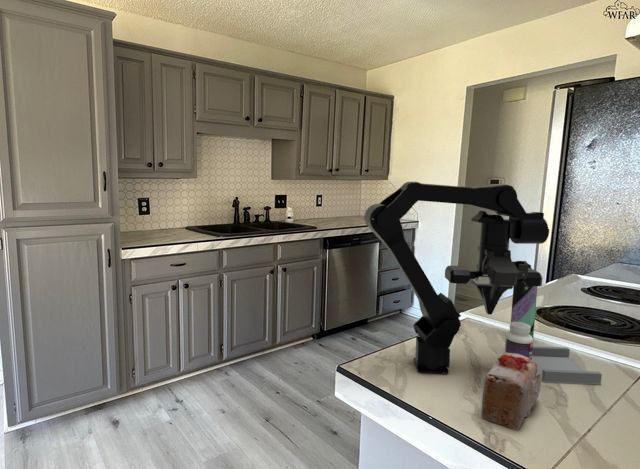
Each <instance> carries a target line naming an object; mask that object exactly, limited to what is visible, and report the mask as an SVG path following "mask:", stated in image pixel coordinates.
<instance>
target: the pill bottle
mask: <svg viewBox="0 0 640 469" xmlns="http://www.w3.org/2000/svg"><path fill="white" fill-rule="evenodd" d="M530 328H531V327H530V325H528V324H526V323H522V322H511V321H510V323H509V331H507V332H506V334H505V338H504V339H505V341H504V352H506V353H514V354H520V355H523V356H525V357H527V358H529V359H531V360H532V348H533V346H534V337H533V338H532V336H531V335H529V333H530ZM510 330H511V331H510Z"/></svg>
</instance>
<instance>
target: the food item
mask: <svg viewBox="0 0 640 469" xmlns="http://www.w3.org/2000/svg"><path fill="white" fill-rule="evenodd" d="M542 381H543V380H542V371H541V370H540V369H538V367H537V364H536V363H535V362H534V361H533V360H531V359H529V358H527V357H525V356H523V355H520V354H514V353H506V352H505V351H504V352H503V353H502V355H500V357H498V358H497V360H495V363H494V364H493V366H492V368H491V369H490V370H489V371H488V372H487V373H486V374H485V375H484V379H483V388H482V390H483V391H482V397H481V414H482V417H483V418H484V419H486V420H488V421H489V422H492V423H495V424H498V425H502V426H505V427H508V428H510V429H511V430H514V431H515V430H517V431H518V430H519V429H520V427H521V425H522V423H523V421H524V418H525V417H527V418H528V417H530V415H531V411H532V408H533V407H534V406H535V403H536V400H537V399H538V398H539V396H540V391H541V387H542Z"/></svg>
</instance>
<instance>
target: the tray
mask: <svg viewBox="0 0 640 469" xmlns="http://www.w3.org/2000/svg"><path fill="white" fill-rule="evenodd" d="M532 360H533V361H534V362H535V363H536V364H537V367H538V369H540V370H541V371H542V381H543V382H544V383H554V384H555V383H556V384H574V385H575V384H576V385H577V384H578V385H595V386H596V385H597V386H600V385H601V384H602V375H603V374H602V373H601V372H600V371H589V370H585V369H584V368H582V367H581V366H580V365H579V364H577V363H576V362H575V360H573V359H571V358H570V348H569V347H562V346H561V347H559V346H555V347H554V346H541V345H539V346H538V345H535V346H534V345H533V348H532Z"/></svg>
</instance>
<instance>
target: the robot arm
mask: <svg viewBox="0 0 640 469" xmlns="http://www.w3.org/2000/svg"><path fill="white" fill-rule="evenodd" d="M420 201H421V202H433V203H443V204H445V203H446V204H456V205H467V206H470V207H473V208H476V209H481V210H479V211H478V213H477V214H475V215H474V216H472V217H471V219H470V220H471V222H473V223H480V237H479V245H478V246H477V251H479V252H478V263H476V269H477V270H475V269H473V270H470V269H468V268H467V267H466V266H464V265H447V266H446V268H445V270H444V278H445V279H446V280H447V281H448V282H449V283H450V284H457V285H458V284H460V285H461V284H462V285H465V284H467V283H469V282H470V283H471V284H473V286H475V287H476V288H477V290H478V292H479V294H480V295H479V296H480V297H481V301H482V304H483V307H484V310H485V312H486V313H485V314H487V315H489V316H490V315H492V314H493V313H494V311H495V308H496V306H497V305H498V302H499V300H500V299H501V297H502V296H503V294H504V293H505V292H506V291H508V290H513V286H515V285H516V282H517V281H523V282H524V283H525V284H526V285H527V286H538V287H542V286H543V276H542V274H541V273H540V272H539V271H538V270H535V269H533V268H532V267H531V268H532V269H531V268H528V264H529V263H528V262H527V261H526V260H516V261H513V260H512V257H511V256H512V253H511V250H510V249H509V247H510V241H511V242H512V243H514V244H517V245H518V244H519V245H521V244H526V245H527V244H529V245H531V244H532V245H537V244H538V245H539V244H544V243H546V242H547V240H548V238H549V235H550V228H549V224H548V222H547V220H546V219H545V218H544V216H545V213H544V212H541V211H538V212H537V211H532V212H527V211H526V210H525V209H524V206H522V204H521V202H520V201H519V199H518V194H517V191H516V189H515V188H514V186H512V185H509V184H484V185H483V184H482V185H475V186H473V185H472V186H457V185H446V184H445V185H444V184H433V183H422V182H418V181H406V182H405V183H403V184H402V185H401V186H400V187H399V188H398V189H397V190H396V191H394V192H393V193H391V194H389V195H388V196H387V197H385V198H384V199H383V200H382V201H381V202H379V203H374V204H371V205H370V206H369V207H368V208H366V210H365V213H364V217H363V219H364V222H365V224H366V226H367V228H369V230H370V231H371V232H372V233H373V234H374V235H375V236H376V237H377V238H378V240H380V241H381V242H382V244H383V245H384V246H386V248H387V250H388V252H389V253H390V255H391V256H392V259H394V262H395V263H396V265H397V267H398V268H399V269H400V271H401V273H402V275H403V276H404V278H405V280H406V281H407V284H409V286H410V288H411V290H412V291H413V293H414V295H415V296H416V298H417V300H418V305H419V309H420V312H421V314H422V316H421V317H420V318H419V319H417V321H416V322H414V324H413V325H412V326H413V329H414V332H415V334H416V335H417V336H415V353H414V354H415V357H413V362H414V365H415V368H416V371H417V372H418V373H426V374H442V375H443V374H444V375H445V374H446V375H447V374H449V368H450V360H451V359H450V358H451V349H450V347H451V344H452V342H453V341H454V340H453V339H454V338H455V335H456V336H457V334H458V332H459V331H460V327H461V325H462V324H461V320H460V318H461V317H462V315H461V314H460V313H458V311H457V310H456V307H455V305H454V302H453V301H452V300H451V299H450V298H449V297H447V295H445V294H444V293H442V292H440V293H437V292H436V290H435V288H434V287H433V285H432V283H431V282H430V280H429V278H428V277H427V275H426V273H425V271H424V270H423V268H422V266H421V265H420V263H419V261H418V259H417V258H416V256H415V254H414V253H413V251H412V248H410V246H409V244H408V242H407V241H406V238H405V233H404V228H403V225H402V223H401V219H402V218H404V216H406V215H407V213H408V212H409V211H410V210H411V209H412V208H413V206H414V205H415V204H417V203H418V202H420ZM486 211H488V212H493V213H495V214H488V212H486ZM503 216H505V217H508V219H507V218H504V217H503Z"/></svg>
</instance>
